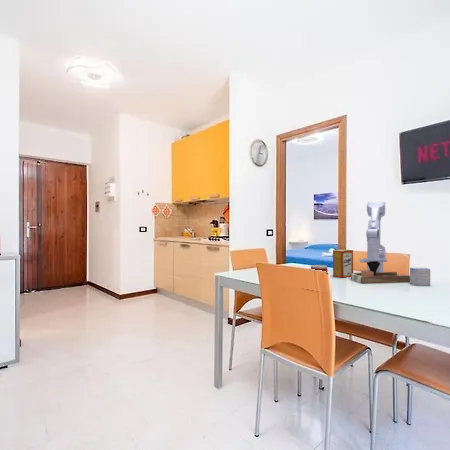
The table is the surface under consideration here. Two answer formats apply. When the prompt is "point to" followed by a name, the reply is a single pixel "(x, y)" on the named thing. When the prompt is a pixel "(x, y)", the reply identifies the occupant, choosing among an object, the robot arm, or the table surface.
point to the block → (367, 273)
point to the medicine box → (420, 276)
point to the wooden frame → (380, 278)
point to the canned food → (319, 267)
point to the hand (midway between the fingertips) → (373, 275)
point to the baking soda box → (342, 263)
